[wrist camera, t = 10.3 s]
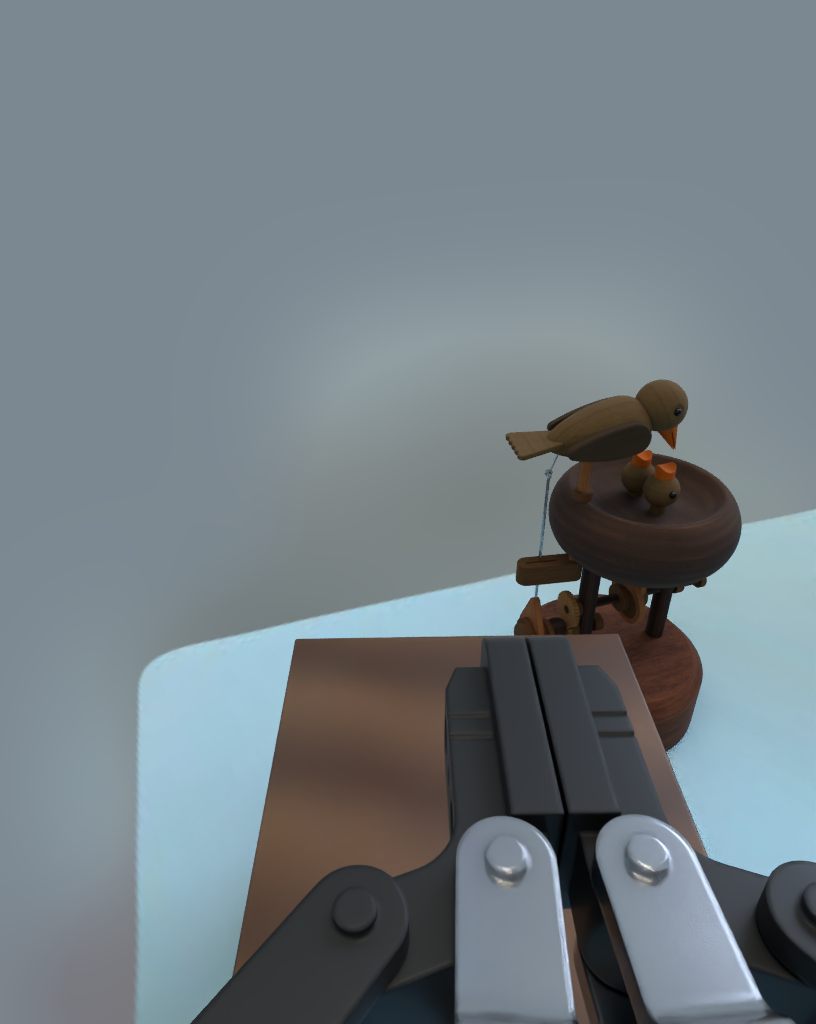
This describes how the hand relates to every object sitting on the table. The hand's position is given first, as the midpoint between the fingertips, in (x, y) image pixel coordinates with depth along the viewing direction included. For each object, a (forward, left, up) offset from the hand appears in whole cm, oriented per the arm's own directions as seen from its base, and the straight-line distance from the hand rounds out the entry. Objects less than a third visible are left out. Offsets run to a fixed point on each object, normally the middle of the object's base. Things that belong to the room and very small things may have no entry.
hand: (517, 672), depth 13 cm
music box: (-17, -16, -22) cm, 32 cm away
